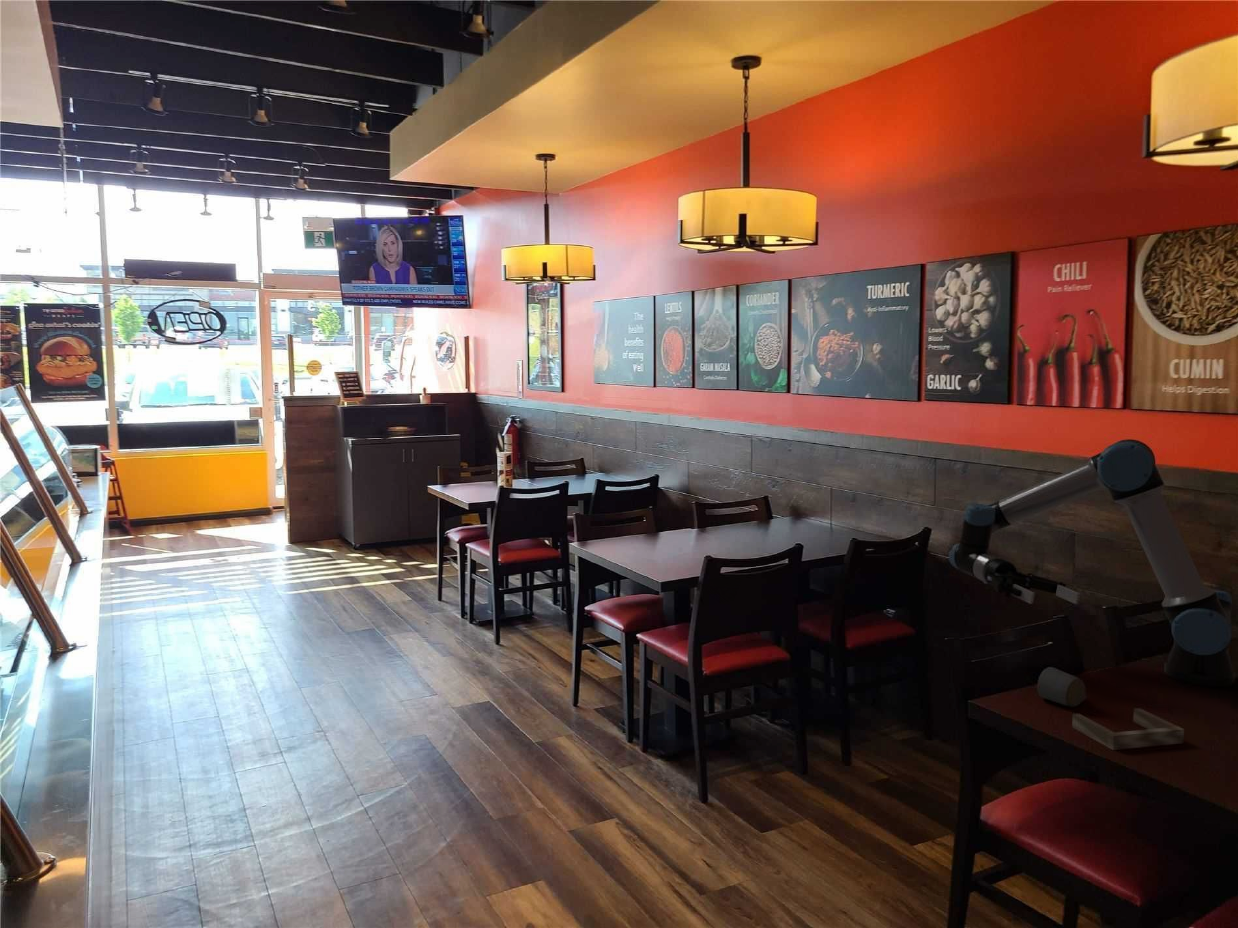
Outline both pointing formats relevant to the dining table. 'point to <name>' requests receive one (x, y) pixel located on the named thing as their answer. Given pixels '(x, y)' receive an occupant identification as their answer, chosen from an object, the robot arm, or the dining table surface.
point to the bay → (1132, 732)
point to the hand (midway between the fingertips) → (1055, 598)
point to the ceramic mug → (1061, 687)
